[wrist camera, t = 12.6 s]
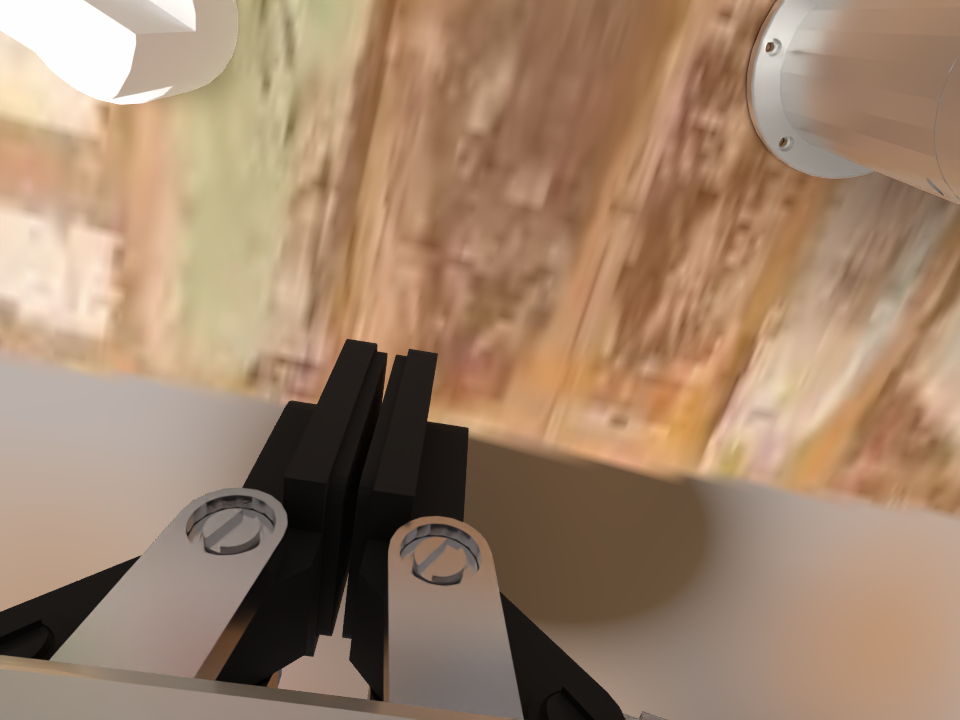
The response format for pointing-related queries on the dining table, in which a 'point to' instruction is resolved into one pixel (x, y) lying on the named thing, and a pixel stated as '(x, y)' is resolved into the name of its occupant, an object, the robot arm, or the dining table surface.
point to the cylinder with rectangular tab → (127, 43)
